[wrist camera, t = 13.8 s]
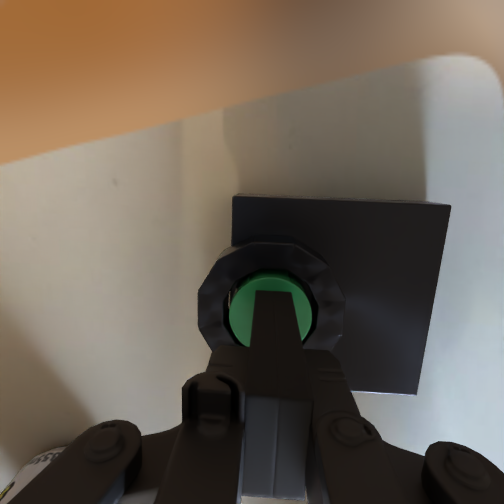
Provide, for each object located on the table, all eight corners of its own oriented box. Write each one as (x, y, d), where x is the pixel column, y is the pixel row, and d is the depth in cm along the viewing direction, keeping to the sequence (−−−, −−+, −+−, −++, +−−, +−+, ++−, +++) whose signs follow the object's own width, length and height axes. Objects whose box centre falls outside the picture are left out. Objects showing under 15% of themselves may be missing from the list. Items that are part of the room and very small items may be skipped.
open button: (233, 264, 15) (229, 275, 13) (309, 268, 15) (315, 279, 13) (232, 333, 16) (227, 351, 14) (304, 337, 15) (308, 356, 14)
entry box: (213, 192, 17) (197, 196, 13) (428, 201, 16) (479, 208, 12) (211, 359, 19) (197, 406, 15) (399, 371, 18) (435, 422, 15)
